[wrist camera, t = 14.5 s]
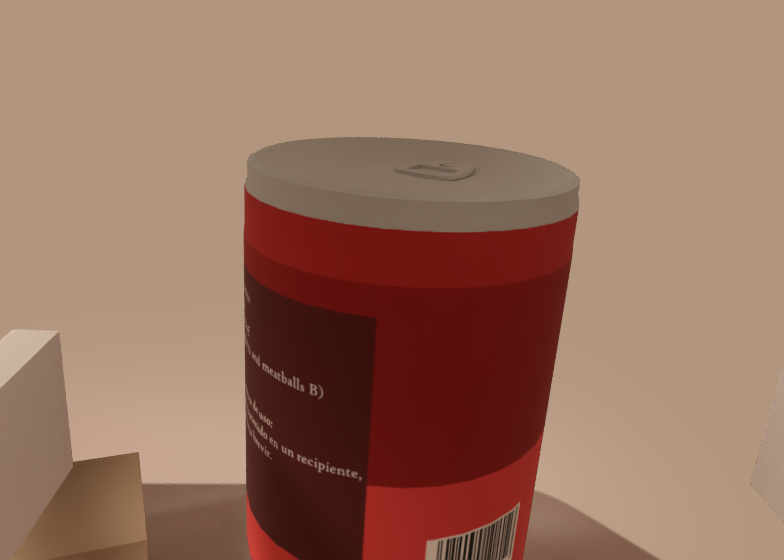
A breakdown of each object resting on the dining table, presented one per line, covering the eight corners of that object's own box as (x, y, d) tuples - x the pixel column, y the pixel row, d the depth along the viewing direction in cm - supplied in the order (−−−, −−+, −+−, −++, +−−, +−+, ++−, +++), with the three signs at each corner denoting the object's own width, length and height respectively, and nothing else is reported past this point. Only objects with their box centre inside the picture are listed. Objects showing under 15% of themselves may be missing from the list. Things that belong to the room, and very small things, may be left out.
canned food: (533, 493, 22) (587, 155, 19) (501, 706, 15) (579, 219, 11) (314, 445, 24) (324, 127, 21) (190, 613, 17) (172, 168, 13)
